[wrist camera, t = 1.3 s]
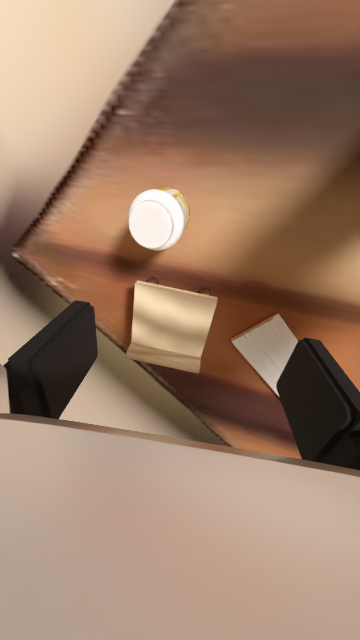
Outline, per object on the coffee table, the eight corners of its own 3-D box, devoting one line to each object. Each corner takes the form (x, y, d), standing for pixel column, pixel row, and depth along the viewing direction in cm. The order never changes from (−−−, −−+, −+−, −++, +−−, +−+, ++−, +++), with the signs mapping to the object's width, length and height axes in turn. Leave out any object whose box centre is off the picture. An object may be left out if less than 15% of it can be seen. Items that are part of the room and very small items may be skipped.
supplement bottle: (140, 219, 29) (109, 235, 20) (160, 177, 26) (135, 174, 18) (176, 244, 30) (161, 268, 21) (199, 205, 27) (193, 215, 19)
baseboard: (286, 305, 33) (230, 336, 38) (291, 315, 31) (231, 347, 35) (360, 414, 43) (309, 428, 48) (369, 427, 41) (314, 441, 45)
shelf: (144, 271, 33) (129, 291, 27) (216, 286, 33) (217, 310, 27) (139, 330, 39) (125, 357, 33) (200, 343, 39) (198, 373, 33)
